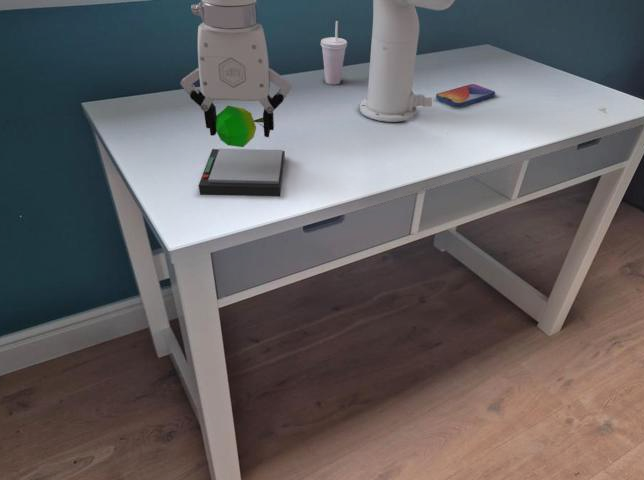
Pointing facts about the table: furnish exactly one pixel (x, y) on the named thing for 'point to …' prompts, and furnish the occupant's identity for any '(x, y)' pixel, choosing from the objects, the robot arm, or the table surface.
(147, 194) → the table surface
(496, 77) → the table surface
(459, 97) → the smartphone
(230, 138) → the apple
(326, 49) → the smoothie
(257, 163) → the scale
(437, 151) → the table surface
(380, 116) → the robot arm
